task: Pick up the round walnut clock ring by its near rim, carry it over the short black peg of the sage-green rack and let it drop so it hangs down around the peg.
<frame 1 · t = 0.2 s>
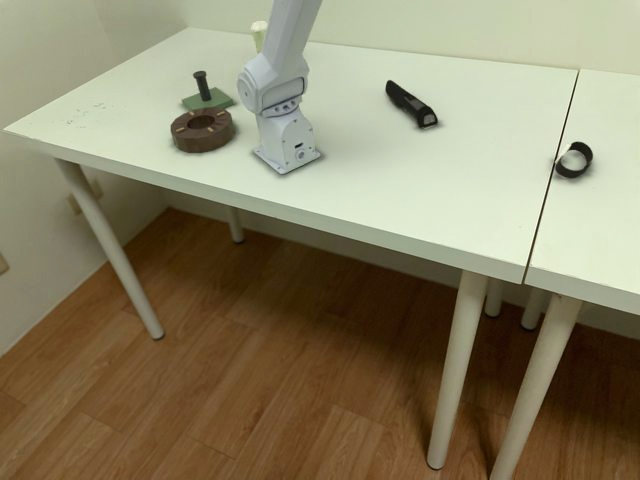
rack: (208, 104, 97), on the table
electric trimmer: (408, 111, 88), on the table
milkshake: (268, 63, 110), on the table
watch: (571, 168, 70), on the table
clock ring: (205, 136, 88), on the table
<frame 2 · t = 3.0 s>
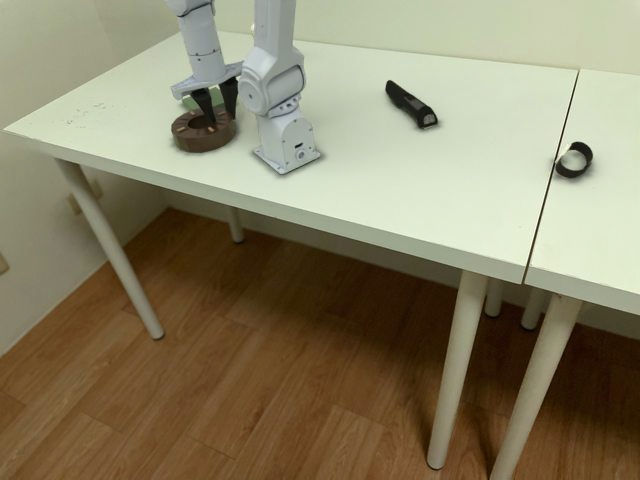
hand: (222, 121, 88), 1 cm above the table, tool pointing down, fingers closed on clock ring, 3 cm apart
clock ring: (205, 135, 88), on the table, touching gripper
everything else where it was.
when the fingers open (6 cm above the table, at t = 8.4 s): clock ring drops 3 cm, resting on rack.
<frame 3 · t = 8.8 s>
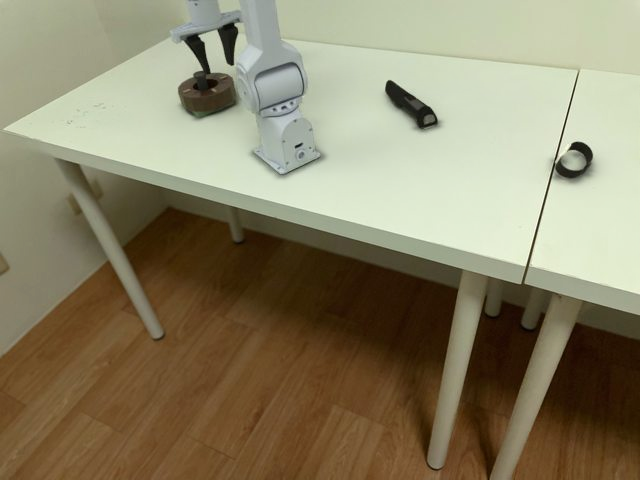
hand: (218, 68, 94), 6 cm above the table, tool pointing down, fingers open, 5 cm apart
clock ring: (209, 98, 96), point 1 cm above the table, touching rack
everything else where it was.
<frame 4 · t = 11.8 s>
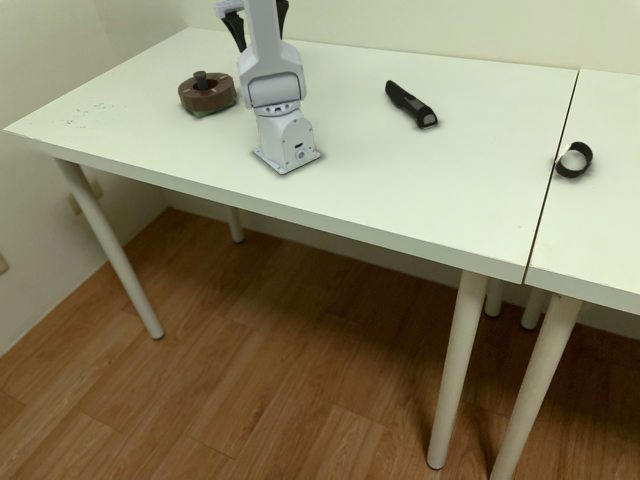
hand: (261, 47, 90), 10 cm above the table, tool pointing down, fingers open, 7 cm apart
nothing on the table moved.
at the end: clock ring 0.6 cm from the rack (horizontally); clock ring point 1.2 cm above the table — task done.
